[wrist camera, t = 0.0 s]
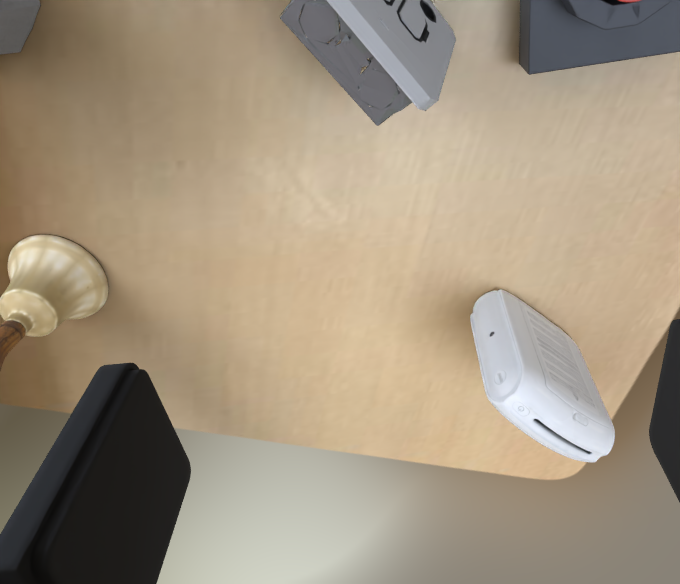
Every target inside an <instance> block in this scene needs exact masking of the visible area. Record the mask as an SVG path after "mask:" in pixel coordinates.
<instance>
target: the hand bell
mask: <svg viewBox="0 0 680 584" xmlns="http://www.w3.org/2000/svg"><path fill="white" fill-rule="evenodd" d="M8 274H9V278H10V281H11V282H10V284H9V286H8V288H7V289H6V291H5V292H4V293H3V295H2V296H1V298H0V314H1V316H2V318H3V319H4V321H5V322H3V323H2V325H1V326H0V370H1V367H2V364H3V361H4V359H5V357H6V356H7V354H8V353H9V352H10V351H11V350H12V349H13V348H14V347H15V346H16V344H17V343H18V342H19V341H20V340H21V339H22V338H23V337H24V336H25V335H28V336H35V337H38V336H45V335H47V334H50V333H51V332H53V331H54V330H55V329H56V328H57V327H58V326H59V325H60V324H61V323H62V322H64V321H65V320H67V319H81V318H85V317H87V316H90V315H92V314H94V313H96V312H97V311H99V310H100V309H101V308H102V307H103V306H104V304H105V302H106V300H107V297H108V291H109V289H108V281H107V277H106V275H105V273H104V271H103V269H102V267H101V265H100V264H99V263H98V262H97V260H96V259H95V258H94V257H93V256H92V255H91V254H90V253H89V252H87V251H86V250H85V249H84V248H82V247H81V246H79V245H77V244H76V243H74V242H72V241H70V240H67V239H65V238H62V237H58V236H53V235H35V236H29V237H27V238H25V239H23V240H21V241H20V242H18V243H17V244H16V245H15V246H14V247H13V249H12V250H11V252H10V255H9V259H8Z"/></svg>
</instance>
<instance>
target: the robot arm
mask: <svg viewBox="0 0 680 584" xmlns="http://www.w3.org/2000/svg"><path fill="white" fill-rule="evenodd" d="M649 436H650V442H651V445H652V448H653V450H654V453H655V455H656V457H657V458H658V460H659V462H660V464H661V466H662V468H663V470H664V472H665V474H666V476H667V478H668V480H669V482H670V484H671V486H672V488H673V490H674V492H675V494H676V496H677V498H678V500H679V502H680V319H677V320H673V321H672V323H671V325H670V329H669V334H668V339H667V344H666V349H665V354H664V359H663V364H662V369H661V374H660V378H659V383H658V388H657V393H656V398H655V403H654V408H653V413H652V418H651V423H650V429H649ZM190 474H191V467H190V462H189V459H188V457H187V455H186V453H185V451H184V449H183V447H182V444H181V443H180V440H179V438H178V436H177V434H176V432H175V430H174V428H173V426H172V423H171V421H170V419H169V417H168V415H167V413H166V411H165V409H164V407H163V404H162V402H161V400H160V398H159V396H158V394H157V392H156V390H155V388H154V385H153V383H152V381H151V379H150V377H149V375H148V373H147V372H146V371H145V370H142V369H139V368H138V366H137V365H136V364H134V363H123V364H112V365H104V366H102V367H100V368H99V369H98V371H97V372H96V374H95V375H94V377H93V379H92V380H91V382H90V384H89V386H88V387H87V389H86V391H85V392H84V394H83V396H82V397H81V399H80V401H79V402H78V404H77V406H76V407H75V409H74V411H73V413H72V414H71V416H70V418H69V419H68V421H67V423H66V424H65V426H64V428H63V429H62V431H61V433H60V434H59V436H58V438H57V440H56V441H55V443H54V445H53V446H52V448H51V450H50V451H49V453H48V455H47V456H46V458H45V460H44V461H43V463H42V465H41V466H40V468H39V470H38V472H37V473H36V475H35V477H34V478H33V480H32V482H31V483H30V485H29V487H28V488H27V490H26V492H25V493H24V495H23V497H22V499H21V500H20V502H19V504H18V506H17V507H16V509H15V510H14V512H13V514H12V515H11V517H10V519H9V520H8V522H7V524H6V526H5V527H4V529H3V531H2V532H1V534H0V584H156V583H157V580H158V577H159V574H160V570H161V568H162V564H163V561H164V558H165V555H166V552H167V549H168V546H169V543H170V539H171V536H172V533H173V530H174V527H175V524H176V521H177V517H178V515H179V511H180V508H181V505H182V502H183V499H184V496H185V493H186V489H187V487H188V483H189V480H190Z"/></svg>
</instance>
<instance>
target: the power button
mask: <svg viewBox="0 0 680 584" xmlns="http://www.w3.org/2000/svg"><path fill="white" fill-rule="evenodd" d="M618 1H621V2H637V1H640V0H618Z"/></svg>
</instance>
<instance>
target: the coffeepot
mask: <svg viewBox="0 0 680 584" xmlns="http://www.w3.org/2000/svg"><path fill="white" fill-rule="evenodd" d="M40 6H41V5H40V1H39V0H0V54H9V53H17V52H21V50H22V48H23V45H24V43H25V41H26V39H27V37H28V35H29V34H30V32H31V30H32V28H33V25H34V22H35V19H36V15H37V13H38V10H39V8H40Z"/></svg>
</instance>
